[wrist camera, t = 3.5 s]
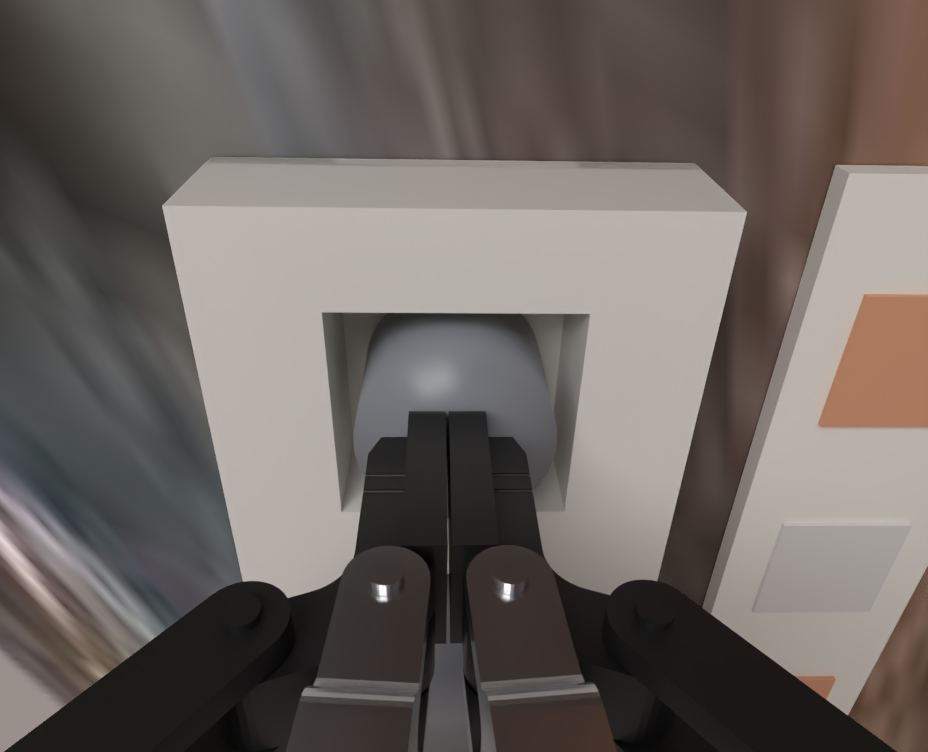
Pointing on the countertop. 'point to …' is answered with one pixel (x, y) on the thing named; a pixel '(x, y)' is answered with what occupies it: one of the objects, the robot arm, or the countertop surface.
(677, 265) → the button panel
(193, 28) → the countertop surface
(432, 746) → the button middle
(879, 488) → the pattern card
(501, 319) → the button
